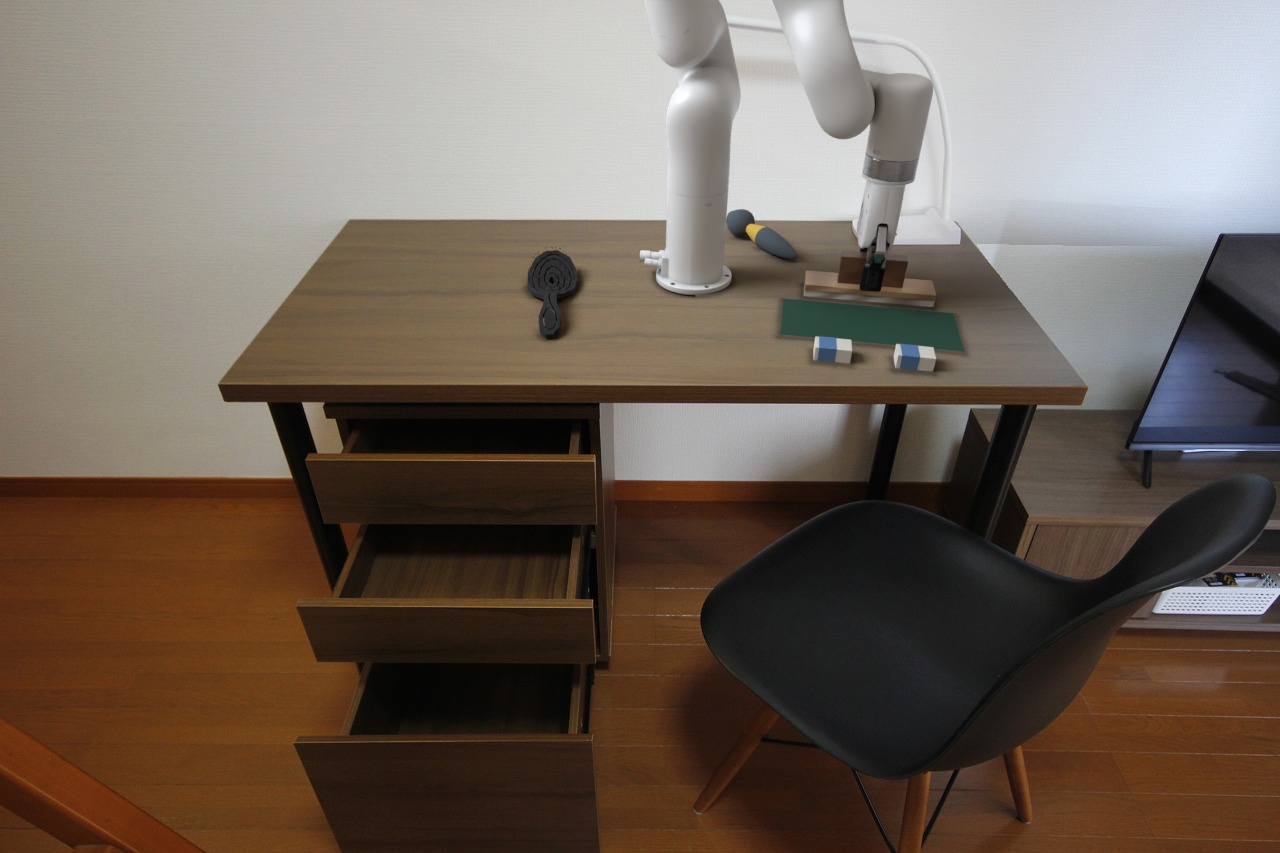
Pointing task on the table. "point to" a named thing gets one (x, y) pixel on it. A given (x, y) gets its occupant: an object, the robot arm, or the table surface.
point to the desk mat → (870, 324)
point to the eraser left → (832, 349)
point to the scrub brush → (891, 291)
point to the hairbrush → (551, 287)
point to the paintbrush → (759, 234)
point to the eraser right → (914, 357)
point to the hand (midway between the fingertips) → (868, 278)
